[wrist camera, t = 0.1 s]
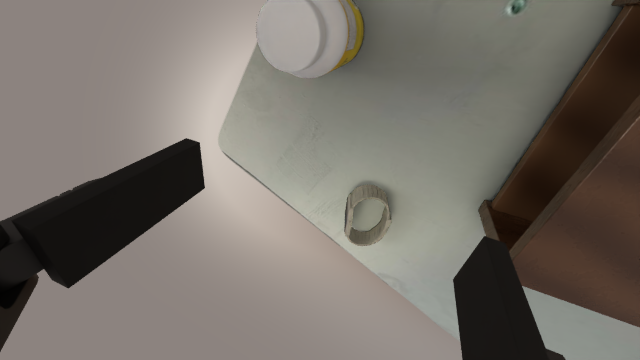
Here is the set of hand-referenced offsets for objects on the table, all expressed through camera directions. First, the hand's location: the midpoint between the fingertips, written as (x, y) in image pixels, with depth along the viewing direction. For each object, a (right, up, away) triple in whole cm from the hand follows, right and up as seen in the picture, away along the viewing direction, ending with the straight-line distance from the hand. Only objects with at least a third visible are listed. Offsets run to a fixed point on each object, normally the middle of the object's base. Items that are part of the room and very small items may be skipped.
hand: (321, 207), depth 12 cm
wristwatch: (+7, -3, +24) cm, 25 cm away
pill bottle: (+2, +17, +15) cm, 22 cm away
